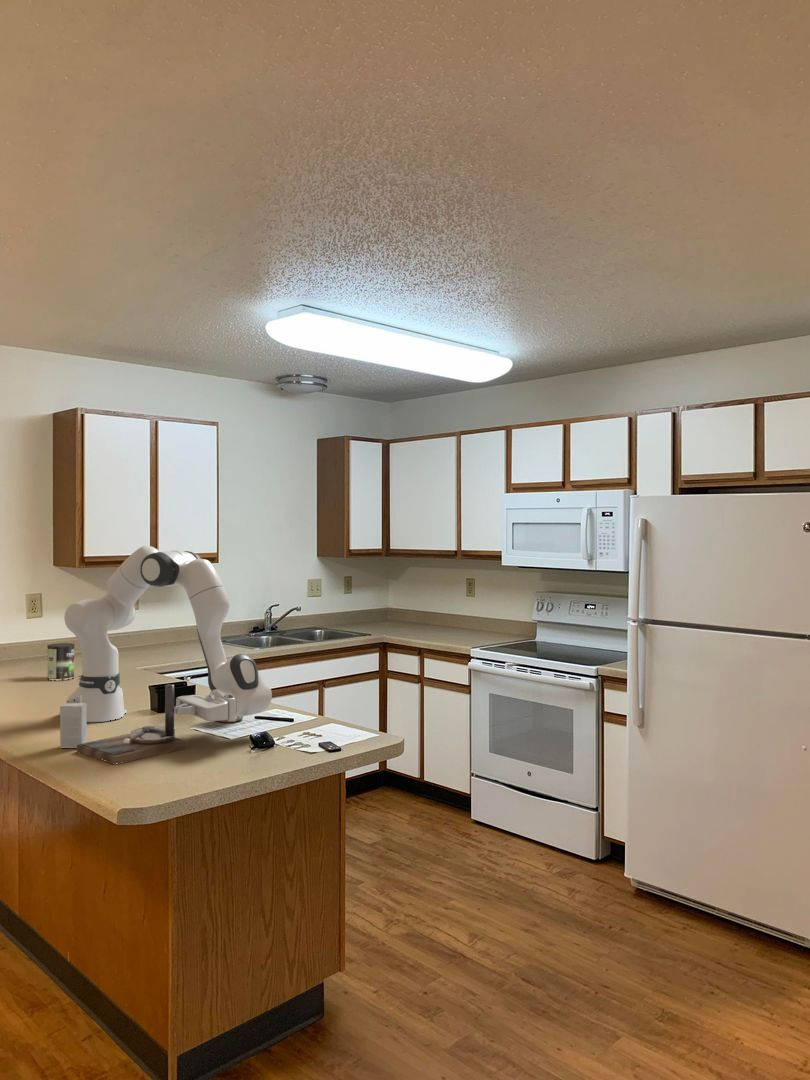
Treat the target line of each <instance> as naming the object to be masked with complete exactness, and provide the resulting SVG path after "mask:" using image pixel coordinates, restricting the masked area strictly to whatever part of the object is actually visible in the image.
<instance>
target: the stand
mask: <svg viewBox="0 0 810 1080" xmlns="http://www.w3.org/2000/svg"><path fill="white" fill-rule="evenodd" d="M125 738H128V739H130V738H131V732H130V733H126V734H122V735H117V736H112V737H107V738H102V739H98V740H93V741H87V743H82V744H77V749H76V752H77V753H79V752H80V753H79V754H82V753H84V754H83V755H85V754H87V755H86V756H88V755H90V756H89V757H91V756H93V757H92V758H94V757H96V758H95V759H97V758H99V759H98V760H100V759H103V760H106V761H108V762H112V763H114V764H116V763H120V764H122V763H121V762H124V763H127V762H126V761H129V762H132V761H131V760H133V761H135V760H136V759H137V760H141V759H144V758H149V757H153V755H154V756H156V755H157V754H158V755H162V754H166V753H169V751H170V752H174V751H178V750H177V749H179V750H182V749H181V748H183V749H186V748H187V740H185V739H181V738H179V737H178V738H177V737H175V738H174V739H173V740H170V741H167V742H162V743H154V744H140V743H134V742H132V741H130V744H128V745H124V743H123V740H124V739H125ZM173 750H174V751H173ZM165 752H166V753H165ZM161 753H162V754H161ZM158 755H157V756H158ZM148 756H149V757H148ZM140 758H141V759H140ZM137 760H136V761H137ZM108 762H107V763H108ZM114 764H113V765H114ZM116 765H117V764H116Z"/></svg>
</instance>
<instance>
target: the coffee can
mask: <svg viewBox="0 0 810 1080" xmlns="http://www.w3.org/2000/svg"><path fill="white" fill-rule="evenodd" d="M75 645H76V644H75V643H71V642H67V643H66V642H61V643H52V644H51V643H50V644H47V679H65V678H71V677H74V678H75Z"/></svg>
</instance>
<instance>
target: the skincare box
mask: <svg viewBox="0 0 810 1080" xmlns="http://www.w3.org/2000/svg"><path fill="white" fill-rule="evenodd" d="M59 713H60V715H59V719H60V720H59V721H60V722H59V723H60V724H59V725H60V726H59V727H60V729H59V730H60V733H59V734H60V735H59V736H60V737H59V738H60V740H59V742H60V743H59V744H60V745H59V746H60V747H59V748H60V749H61V748H77V744H82V743H87V742H88V741H87V740H88V739H87V737H88V735H87V734H88V733H87V731H88V730H87V723H88V722H87V718H86V717H87V715H86V703H67V702H66V703H64V704H62V705H60V707H59Z"/></svg>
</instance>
